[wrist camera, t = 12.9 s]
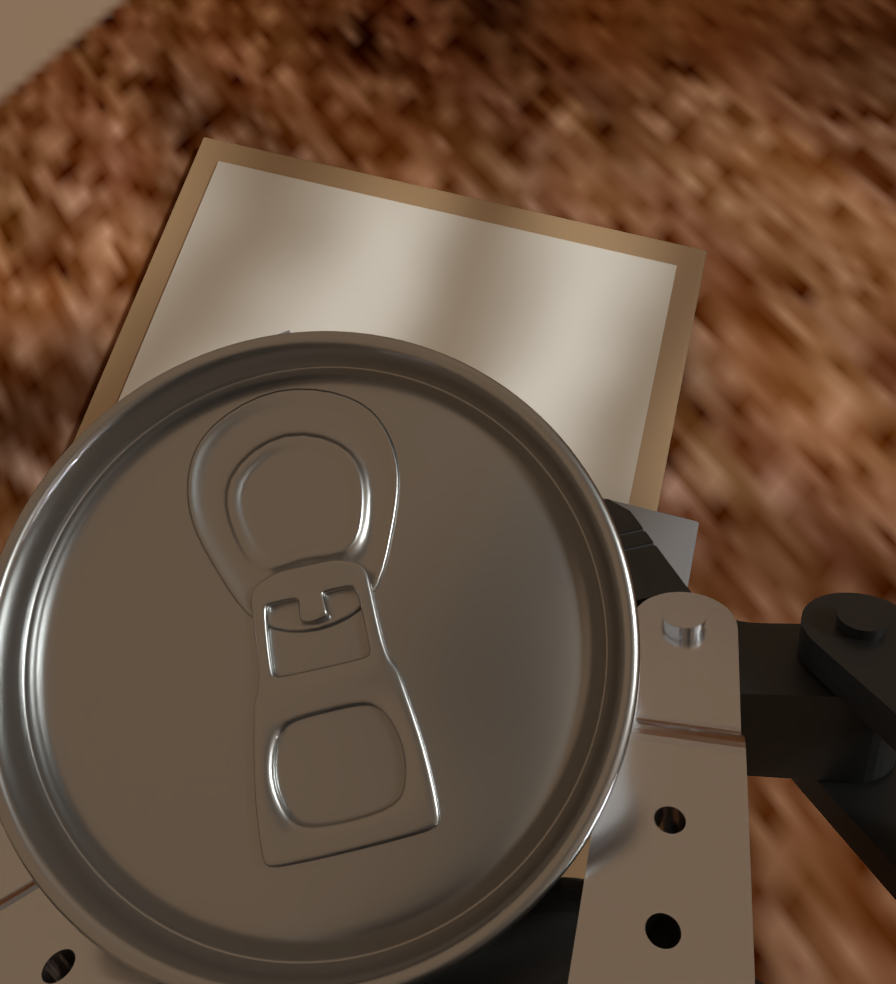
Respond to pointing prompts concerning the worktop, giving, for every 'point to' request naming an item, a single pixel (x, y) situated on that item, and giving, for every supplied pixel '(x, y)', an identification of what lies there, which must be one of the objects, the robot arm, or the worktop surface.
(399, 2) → the worktop surface
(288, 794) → the can
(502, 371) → the clipboard
